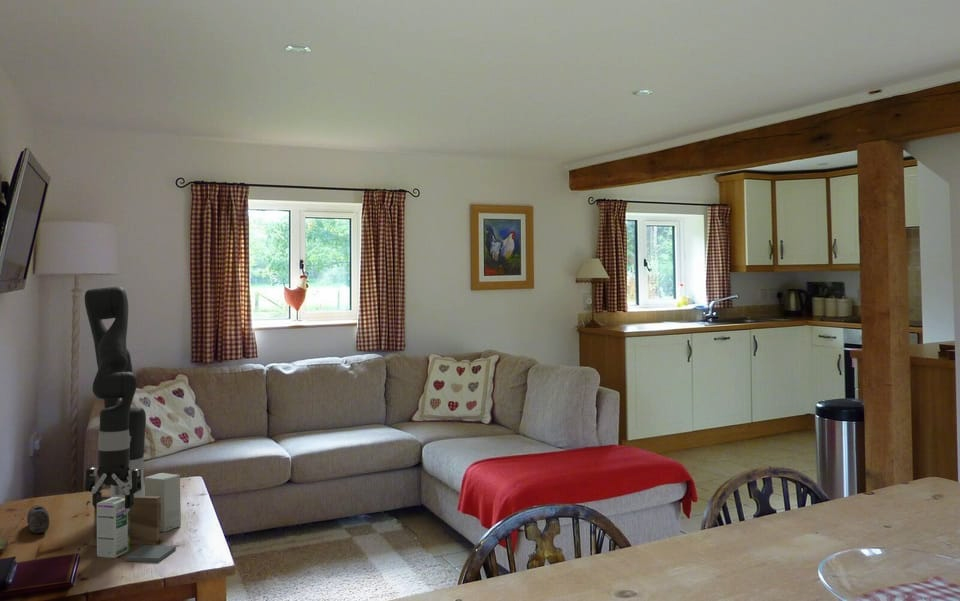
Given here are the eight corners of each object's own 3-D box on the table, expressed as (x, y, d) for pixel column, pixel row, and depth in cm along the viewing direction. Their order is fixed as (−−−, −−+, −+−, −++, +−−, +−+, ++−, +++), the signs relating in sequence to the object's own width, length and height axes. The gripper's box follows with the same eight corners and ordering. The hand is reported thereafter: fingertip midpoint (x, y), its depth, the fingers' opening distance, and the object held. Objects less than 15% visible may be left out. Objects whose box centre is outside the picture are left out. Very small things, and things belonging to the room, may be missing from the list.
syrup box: (115, 558, 185) (116, 503, 185) (95, 556, 187) (96, 501, 187) (130, 551, 191) (130, 497, 191) (111, 549, 192) (111, 496, 192)
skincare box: (181, 526, 212) (182, 474, 212) (163, 533, 206) (163, 479, 206) (161, 522, 215) (162, 471, 215) (142, 528, 209) (143, 476, 209)
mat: (143, 548, 193) (143, 545, 193) (175, 549, 192) (175, 546, 192) (125, 560, 184) (125, 557, 184) (158, 562, 183) (158, 558, 183)
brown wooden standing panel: (102, 538, 201) (103, 492, 201) (163, 540, 200) (164, 494, 200) (89, 545, 195) (90, 498, 195) (152, 547, 194) (153, 500, 194)
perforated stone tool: (25, 524, 212) (25, 500, 212) (45, 521, 216) (46, 498, 216) (28, 538, 200) (28, 513, 200) (50, 534, 203) (50, 510, 203)
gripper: (147, 444, 192) (146, 504, 192) (96, 443, 193) (95, 502, 193) (131, 450, 185) (130, 512, 184) (79, 448, 186) (78, 510, 185)
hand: (112, 507), depth 189 cm, fingers open, 8 cm apart
